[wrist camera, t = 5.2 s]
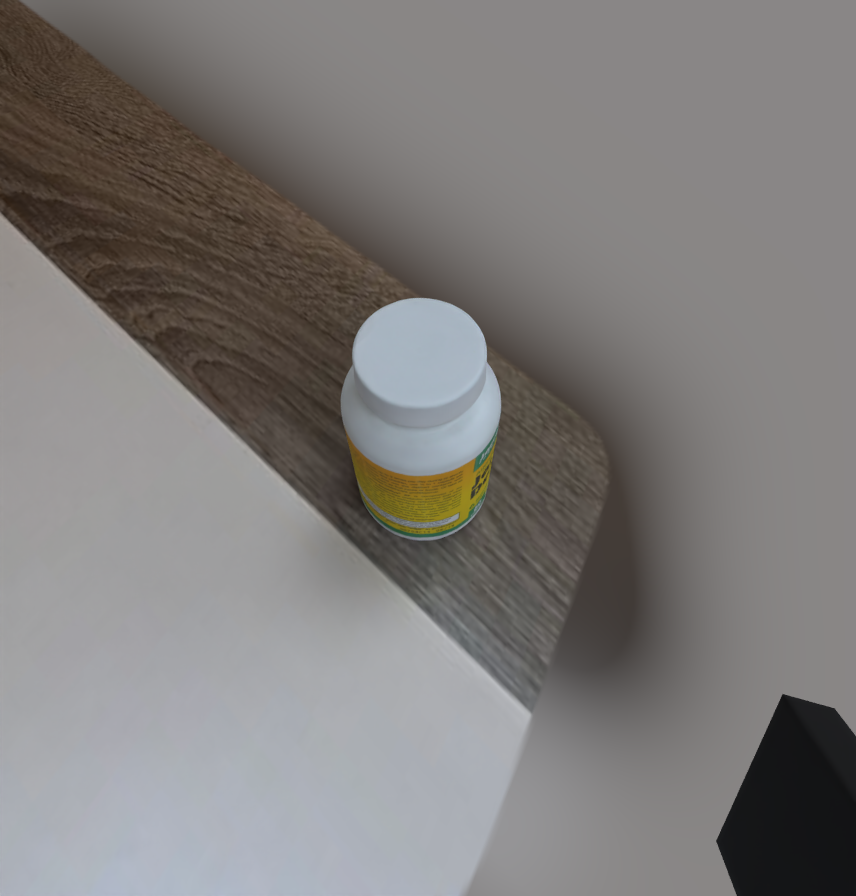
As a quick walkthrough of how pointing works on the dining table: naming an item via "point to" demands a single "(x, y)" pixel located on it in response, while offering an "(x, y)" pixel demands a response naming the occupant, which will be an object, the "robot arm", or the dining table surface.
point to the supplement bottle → (421, 417)
